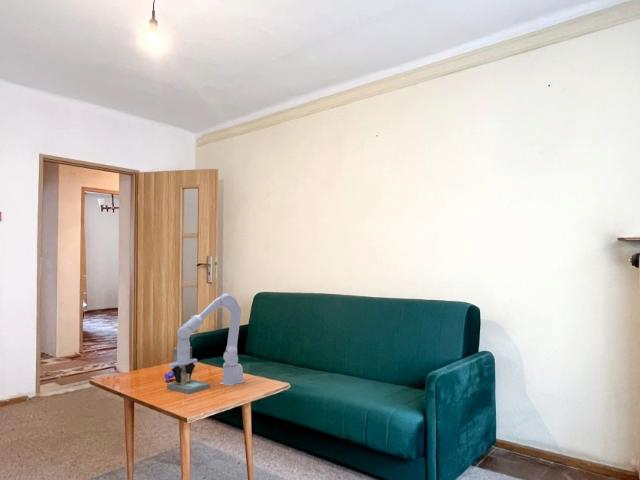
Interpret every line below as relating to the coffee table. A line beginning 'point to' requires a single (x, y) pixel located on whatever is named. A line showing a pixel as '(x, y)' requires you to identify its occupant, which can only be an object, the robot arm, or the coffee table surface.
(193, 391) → the pocket board
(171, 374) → the game controller
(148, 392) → the coffee table surface
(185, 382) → the birch block
